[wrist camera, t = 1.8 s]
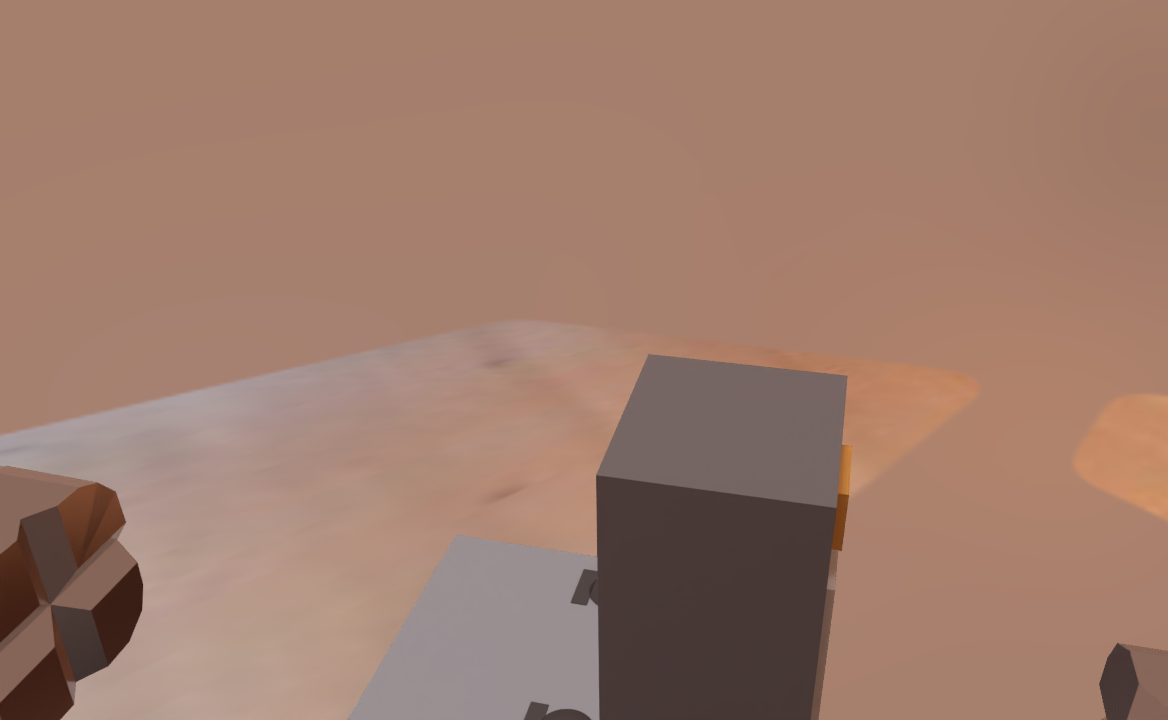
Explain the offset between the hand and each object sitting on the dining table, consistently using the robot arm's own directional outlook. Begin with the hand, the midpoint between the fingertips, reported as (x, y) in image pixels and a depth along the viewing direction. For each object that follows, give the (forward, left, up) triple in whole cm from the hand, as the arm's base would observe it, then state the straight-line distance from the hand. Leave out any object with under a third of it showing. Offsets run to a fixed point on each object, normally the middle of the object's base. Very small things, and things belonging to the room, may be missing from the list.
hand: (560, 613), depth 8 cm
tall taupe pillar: (0, +12, -26) cm, 28 cm away
